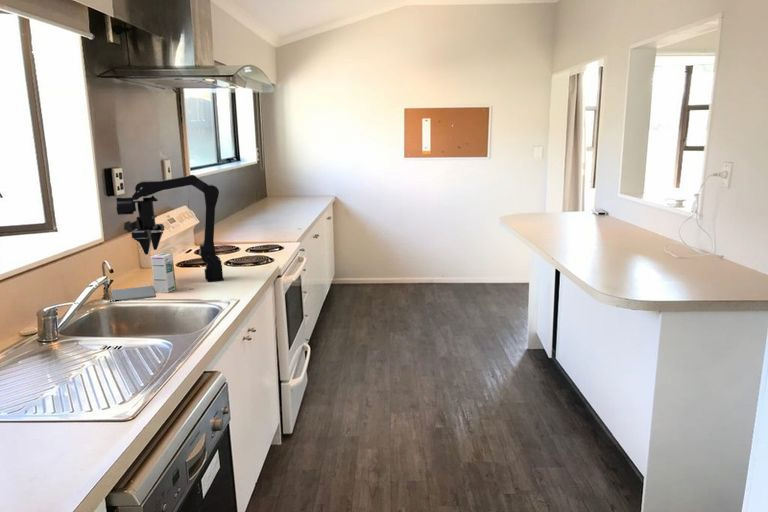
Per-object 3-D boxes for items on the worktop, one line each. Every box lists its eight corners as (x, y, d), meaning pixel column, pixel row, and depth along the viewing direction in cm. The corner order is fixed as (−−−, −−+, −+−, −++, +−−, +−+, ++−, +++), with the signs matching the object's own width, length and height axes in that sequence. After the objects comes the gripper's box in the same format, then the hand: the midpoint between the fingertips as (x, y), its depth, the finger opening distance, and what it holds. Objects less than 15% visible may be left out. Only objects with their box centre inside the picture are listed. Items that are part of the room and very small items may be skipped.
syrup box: (168, 293, 213) (164, 256, 210) (154, 292, 214) (150, 255, 211) (176, 289, 218) (173, 253, 215) (162, 288, 219) (159, 252, 216)
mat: (153, 287, 221) (153, 285, 221) (155, 297, 207) (155, 295, 207) (108, 291, 215) (108, 290, 215) (107, 302, 201) (107, 300, 201)
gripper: (135, 210, 227) (140, 248, 231) (115, 217, 209) (120, 257, 212) (162, 210, 228) (167, 247, 231) (145, 216, 209) (149, 256, 213)
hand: (151, 252), depth 222 cm, fingers open, 9 cm apart
